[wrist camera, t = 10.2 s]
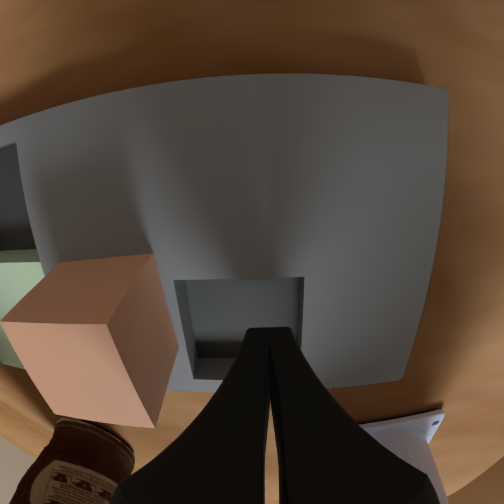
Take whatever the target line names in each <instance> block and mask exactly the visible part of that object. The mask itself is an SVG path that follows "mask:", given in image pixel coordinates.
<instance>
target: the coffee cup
mask: <svg viewBox="0 0 504 504" xmlns="http://www.w3.org/2000/svg"><path fill="white" fill-rule="evenodd" d="M134 464H135V458H134V453H133V452H132V451H131V450H130V448H129V447H127V446H126V445H125V444H124V443H123V442H121V441H120V440H119V439H118V438H116V437H115V436H113V435H111V434H110V433H108V432H106V431H104V430H102V429H100V428H98V427H96V426H94V425H92V424H89V423H86V422H83V421H81V420H78V419H75V418H68V417H61V418H60V419H59V420H57V422H56V423H55V429H54V434H53V437H52V439H51V440H50V442H49V444H48V445H47V446H46V447H44V449H43V451H42V452H41V453H40V455H39V457H38V458H37V460H36V461H35V462H34V463H33V464H32V465H31V467H29V469H28V470H27V472H26V473H25V475H24V476H23V477H22V479H21V481H20V482H19V484H18V486H17V489H16V492H15V494H14V496H13V497H12V499H11V501H10V503H9V504H109V502H110V500H111V498H112V495H113V493H114V491H115V489H116V487H117V485H118V484H119V483H120V482H122V481H123V480H125V479H126V478H128V477H129V476H131V473H132V470H133V468H134Z"/></svg>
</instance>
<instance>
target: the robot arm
mask: <svg viewBox="0 0 504 504" xmlns="http://www.w3.org/2000/svg"><path fill="white" fill-rule="evenodd" d="M270 401H271V409H272V416H273V424H274V431H275V439H276V446H277V454H278V465H279V504H449V503H448V500H447V497H446V493H445V490H444V487H443V484H442V481H441V479H440V476H439V473H438V470H437V467H436V464H435V461H434V459H433V456H432V453H431V451H430V448H429V445H428V443H429V442H430V440H431V438H432V437H433V435H434V433H435V432H436V430H437V428H438V427H439V425H440V423H441V421H442V420H443V418H444V416H445V414H444V411H443V410H441V409H440V410H435V411H431V412H426V413H422V414H417V415H413V416H408V417H403V418H397V419H392V420H386V421H380V422H374V423H367V424H360V425H358V424H357V423H356V422H355V421H354V420H353V419H352V418H351V417H350V416H349V415H348V414H347V413H346V411H345V410H344V409H343V408H342V407H341V406H340V405H339V404H338V403H337V401H336V400H335V399H334V398H333V397H332V395H331V394H330V393H329V392H328V390H327V389H326V388H325V386H324V385H323V384H322V382H321V381H320V380H319V378H318V377H317V375H316V374H315V372H314V371H313V369H312V368H311V366H310V365H309V363H308V362H307V360H306V358H305V357H304V355H303V353H302V351H301V349H300V348H299V346H298V344H297V342H296V339H295V337H294V335H293V332H292V329H291V328H289V327H257V328H249V329H247V330H246V333H245V337H244V340H243V342H242V345H241V347H240V350H239V352H238V354H237V356H236V358H235V360H234V362H233V364H232V366H231V368H230V369H229V371H228V373H227V375H226V376H225V378H224V380H223V381H222V383H221V384H220V386H219V387H218V389H217V391H216V392H215V394H214V395H213V396H212V398H211V399H210V401H209V402H208V403H207V405H206V406H205V407H204V409H203V410H202V411H201V412H200V414H199V415H198V416H197V417H196V418H195V419H194V420H193V422H192V423H191V424H190V425H189V426H188V427H187V428H186V429H185V430H184V431H183V433H182V434H181V435H180V436H179V437H178V438H177V439H175V440H174V441H173V442H172V443H171V444H170V445H169V446H168V447H167V448H165V449H164V450H163V451H162V452H161V453H160V454H159V455H157V456H156V457H155V458H154V459H153V460H151V461H150V462H149V463H148V464H146V465H145V466H143V467H142V468H141V469H139V470H138V471H136V472H135V473H133V474H132V475H131V476H129V477H128V478H126V479H125V480H123V481H122V482H120V483H119V484H118V485H117V487H116V489H115V491H114V493H113V495H112V498H111V500H110V502H109V504H265V452H266V441H267V431H268V420H269V408H270Z"/></svg>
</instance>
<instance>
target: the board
mask: <svg viewBox="0 0 504 504" xmlns="http://www.w3.org/2000/svg"><path fill="white" fill-rule="evenodd" d="M447 147H448V89H445V88H440V87H435V86H429V85H423V84H417V83H411V82H404V81H397V80H389V79H381V78H371V77H361V76H348V75H332V74H301V73H277V74H246V75H229V76H217V77H206V78H196V79H187V80H179V81H172V82H165V83H158V84H152V85H146V86H141V87H135V88H130V89H125V90H120V91H115V92H110V93H106V94H101V95H97V96H93V97H89V98H85V99H81V100H77V101H74V102H70V103H66V104H63V105H59V106H56V107H53V108H49V109H46V110H43V111H40V112H37V113H34V114H31V115H28V116H25V117H22V118H19V119H16V120H14V121H11V122H8V123H6V124H3V125H0V320H1V319H2V318H3V317H4V316H5V315H6V314H7V313H8V312H9V311H10V310H11V309H12V308H13V307H14V306H15V305H16V304H17V303H18V302H19V301H20V300H21V299H22V298H23V297H24V296H25V295H26V294H27V293H28V292H29V291H30V290H31V289H32V288H33V287H34V286H35V285H37V284H38V283H39V282H40V281H41V280H42V279H43V278H44V277H45V276H46V275H47V274H48V273H49V272H50V271H52V270H53V269H54V268H55V267H56V266H57V265H58V264H59V263H60V262H69V261H79V260H89V259H99V258H109V257H119V256H130V255H140V254H150V253H154V256H155V260H156V264H157V268H158V272H159V276H160V280H161V284H162V288H163V292H164V295H165V299H166V303H167V307H168V310H169V314H170V317H171V321H172V324H173V328H174V331H175V334H176V338H177V341H178V344H179V350H178V353H177V356H176V359H175V363H174V366H173V369H172V372H171V376H170V379H169V382H168V386H167V389H166V390H174V391H193V392H216V391H217V389H218V387H219V386H220V384H221V383H222V381H223V380H224V378H225V376H226V375H227V373H228V371H229V369H230V368H231V366H232V364H233V362H234V360H235V358H236V356H237V354H238V352H239V350H240V347H241V345H242V342H243V340H244V337H245V333H246V330H247V329H249V328H257V327H289V328H291V329H292V332H293V335H294V337H295V339H296V342H297V344H298V346H299V348H300V349H301V351H302V353H303V355H304V357H305V358H306V360H307V362H308V363H309V365H310V366H311V368H312V369H313V371H314V372H315V374H316V375H317V377H318V378H319V380H320V381H321V382H322V384H323V385H324V386H325V388H326V389H333V388H343V387H353V386H362V385H370V384H378V383H385V382H392V381H398V380H402V378H403V375H404V372H405V369H406V366H407V363H408V360H409V357H410V354H411V351H412V347H413V344H414V341H415V337H416V334H417V330H418V327H419V323H420V319H421V315H422V312H423V308H424V304H425V299H426V295H427V291H428V287H429V282H430V277H431V273H432V268H433V263H434V257H435V252H436V246H437V240H438V234H439V228H440V221H441V213H442V206H443V197H444V188H445V177H446V164H447ZM2 364H5V365H9V366H13V367H17V368H22V369H25V368H24V366H23V364H22V363H21V361H20V359H19V357H18V356H17V354H16V352H15V350H14V348H13V346H12V345H11V343H10V341H9V339H8V337H7V335H6V333H5V331H4V329H3V327H2V325H1V323H0V366H1V365H2Z"/></svg>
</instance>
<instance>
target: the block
mask: <svg viewBox="0 0 504 504" xmlns="http://www.w3.org/2000/svg"><path fill="white" fill-rule="evenodd" d="M0 323H1V325H2V327H3V329H4V331H5V333H6V335H7V337H8V339H9V341H10V343H11V345H12V346H13V348H14V350H15V352H16V354H17V356H18V357H19V359H20V361H21V363H22V364H23V366H24V368H25V369H26V371H27V373H28V374H29V376H30V378H31V379H32V381H33V382H34V384H35V386H36V387H37V389H38V390H39V392H40V393H41V395H42V396H43V398H44V399H45V401H46V402H47V404H48V405H49V407H50V408H51V409H52V411H53V412H54V414H57V415H62V416H67V417H73V418H78V419H84V420H90V421H96V422H103V423H110V424H118V425H126V426H136V427H146V428H155V427H156V423H157V420H158V416H159V413H160V410H161V406H162V403H163V399H164V396H165V392H166V389H167V386H168V382H169V379H170V376H171V372H172V369H173V366H174V363H175V359H176V356H177V353H178V350H179V344H178V341H177V338H176V334H175V331H174V328H173V324H172V321H171V317H170V314H169V310H168V307H167V303H166V299H165V295H164V292H163V288H162V284H161V280H160V276H159V272H158V268H157V264H156V260H155V256H154V253H150V254H140V255H130V256H119V257H109V258H99V259H89V260H79V261H69V262H60V263H59V264H58V265H57V266H56V267H55V268H54V269H53V270H52V271H50V272H49V273H48V274H47V275H46V276H45V277H44V278H43V279H42V280H41V281H40V282H39V283H38V284H37V285H35V286H34V287H33V288H32V289H31V290H30V291H29V292H28V293H27V294H26V295H25V296H24V297H23V298H22V299H21V300H20V301H19V302H18V303H17V304H16V305H15V306H14V307H13V308H12V309H11V310H10V311H9V312H8V313H7V314H6V315H5V316H4V317H3V318H2V319H1V320H0Z"/></svg>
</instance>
